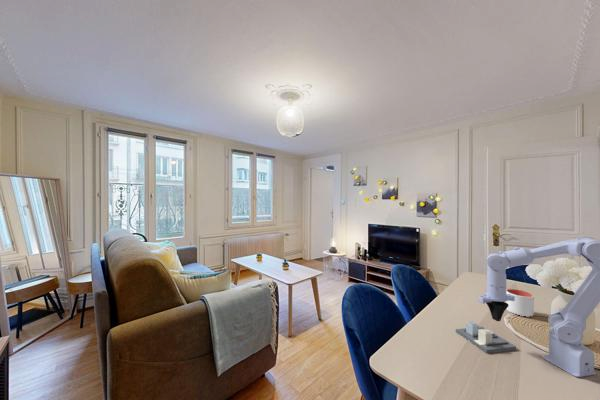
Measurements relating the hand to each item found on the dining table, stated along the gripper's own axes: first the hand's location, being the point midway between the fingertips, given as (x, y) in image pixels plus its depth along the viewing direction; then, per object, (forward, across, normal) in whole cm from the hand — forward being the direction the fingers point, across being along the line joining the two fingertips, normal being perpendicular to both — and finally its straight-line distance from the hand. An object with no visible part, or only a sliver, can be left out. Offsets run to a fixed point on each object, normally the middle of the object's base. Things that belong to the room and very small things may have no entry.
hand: (496, 319), depth 89 cm
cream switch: (+8, +5, 0) cm, 9 cm away
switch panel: (+9, +2, -3) cm, 10 cm away
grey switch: (+8, +5, -6) cm, 11 cm away
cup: (+10, -36, -19) cm, 42 cm away
